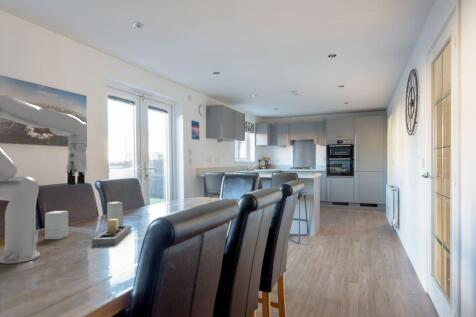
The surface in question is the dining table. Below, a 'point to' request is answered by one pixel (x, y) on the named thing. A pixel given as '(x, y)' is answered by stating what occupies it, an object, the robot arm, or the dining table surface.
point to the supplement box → (56, 225)
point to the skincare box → (115, 211)
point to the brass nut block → (113, 226)
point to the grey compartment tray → (111, 237)
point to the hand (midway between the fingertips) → (76, 184)
